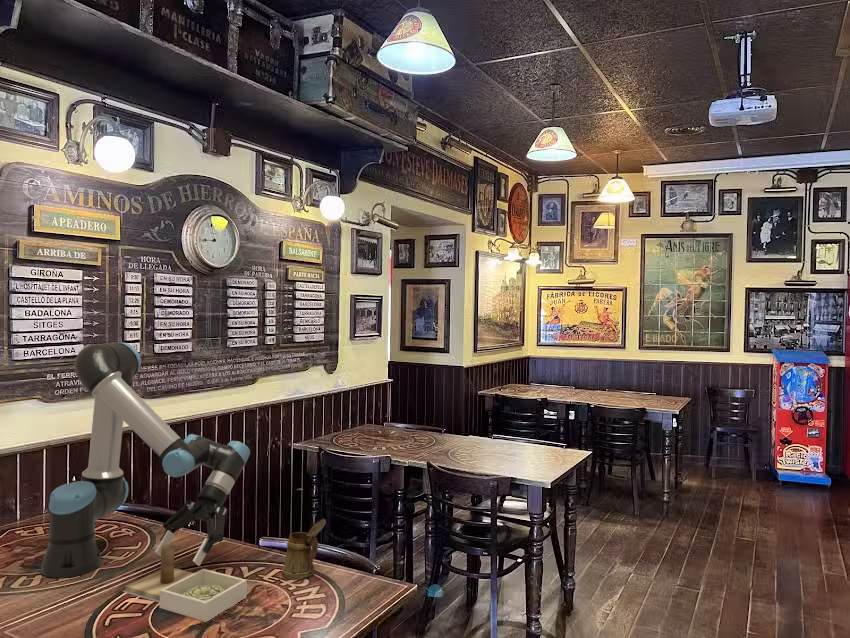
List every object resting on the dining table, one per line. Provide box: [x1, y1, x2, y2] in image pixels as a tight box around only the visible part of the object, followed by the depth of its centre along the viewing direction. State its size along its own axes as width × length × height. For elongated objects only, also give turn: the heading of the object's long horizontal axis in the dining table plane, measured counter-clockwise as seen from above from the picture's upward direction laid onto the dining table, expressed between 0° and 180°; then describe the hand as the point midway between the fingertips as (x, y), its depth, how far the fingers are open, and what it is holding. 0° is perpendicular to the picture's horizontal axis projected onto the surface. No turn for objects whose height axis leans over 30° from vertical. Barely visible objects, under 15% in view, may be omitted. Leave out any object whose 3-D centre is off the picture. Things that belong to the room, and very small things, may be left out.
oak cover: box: [124, 544, 195, 601], centre depth 171 cm, size 14×14×11 cm
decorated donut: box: [183, 585, 225, 601], centre depth 162 cm, size 10×11×4 cm
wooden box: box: [159, 568, 248, 623], centre depth 162 cm, size 15×15×5 cm
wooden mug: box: [281, 518, 327, 581], centre depth 181 cm, size 9×14×18 cm, turn 58°
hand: (176, 558), depth 172 cm, fingers open, 13 cm apart
